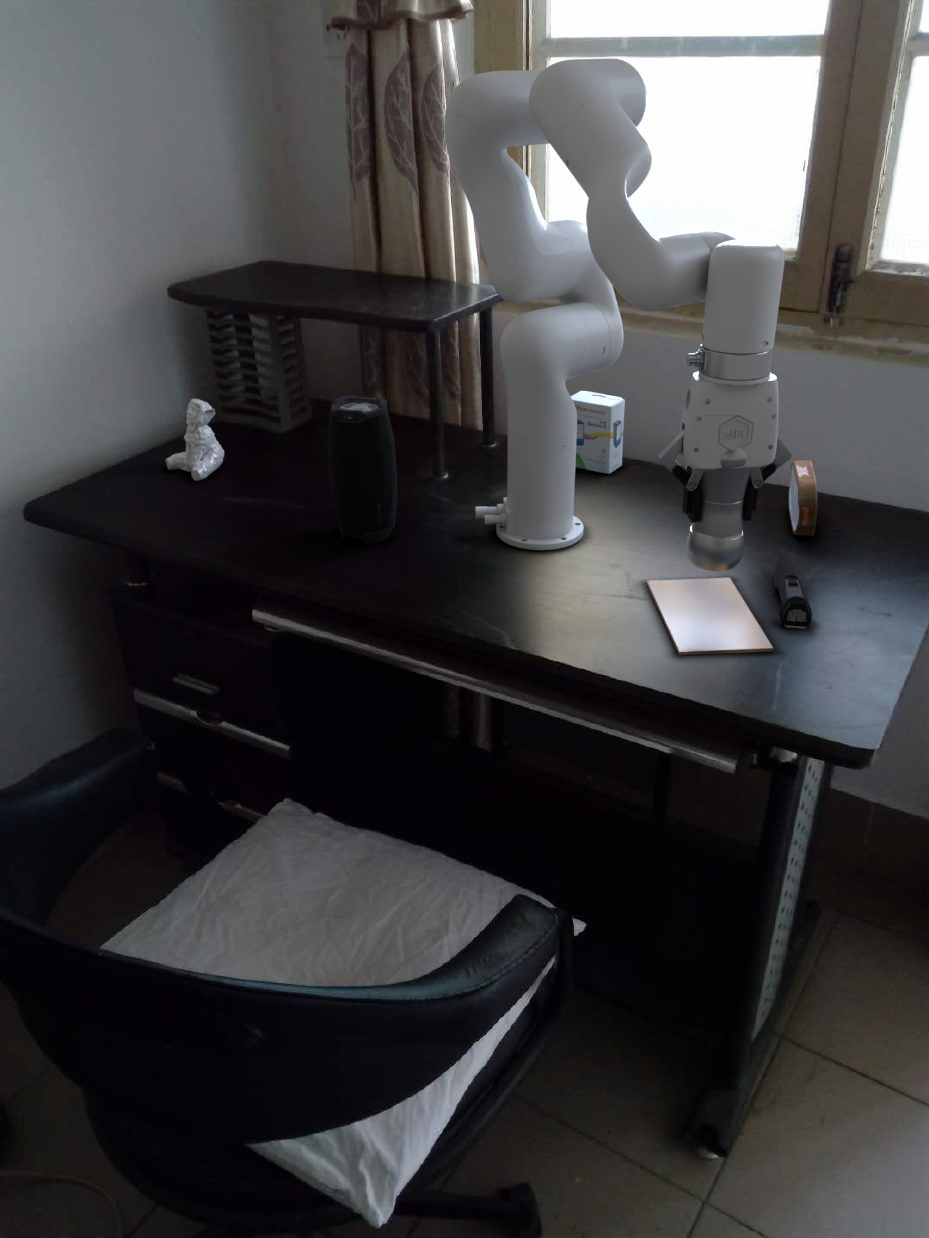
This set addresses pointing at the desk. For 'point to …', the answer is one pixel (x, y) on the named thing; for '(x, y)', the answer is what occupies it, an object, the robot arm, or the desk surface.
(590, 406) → the ink box
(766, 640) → the wooden board
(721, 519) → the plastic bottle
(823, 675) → the desk surface
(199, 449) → the sitting furry creature
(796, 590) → the electric trimmer
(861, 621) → the desk surface
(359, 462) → the portable speaker
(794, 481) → the tin
